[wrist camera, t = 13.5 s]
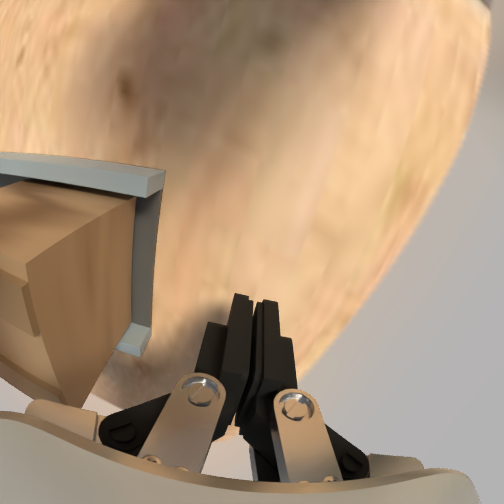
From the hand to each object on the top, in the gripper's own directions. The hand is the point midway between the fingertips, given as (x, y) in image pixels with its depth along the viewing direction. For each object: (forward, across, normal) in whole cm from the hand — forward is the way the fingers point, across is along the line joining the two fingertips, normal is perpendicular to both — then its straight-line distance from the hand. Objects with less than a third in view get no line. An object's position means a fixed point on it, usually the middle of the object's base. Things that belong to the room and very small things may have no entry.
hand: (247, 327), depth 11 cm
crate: (+3, +9, 0) cm, 10 cm away
